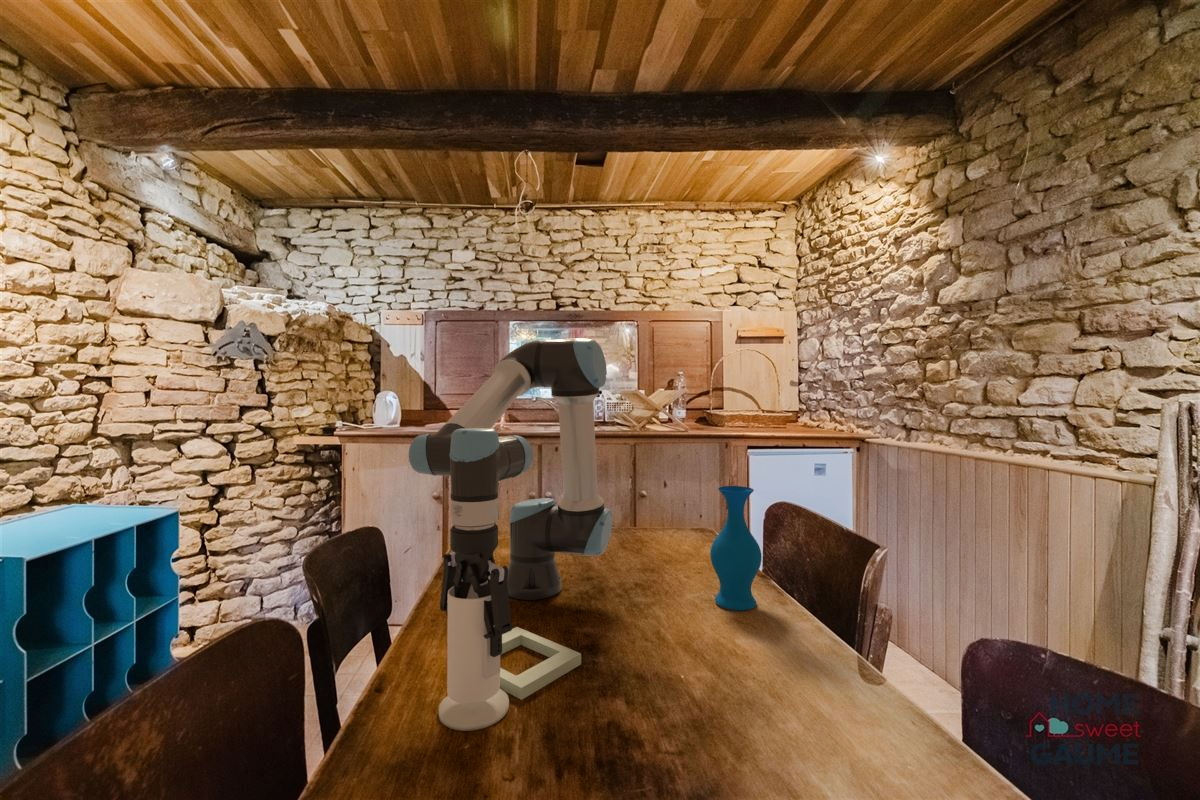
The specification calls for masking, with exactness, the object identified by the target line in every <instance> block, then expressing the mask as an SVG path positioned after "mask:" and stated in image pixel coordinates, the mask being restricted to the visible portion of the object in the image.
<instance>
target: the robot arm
mask: <svg viewBox="0 0 1200 800" xmlns="http://www.w3.org/2000/svg"><path fill="white" fill-rule="evenodd" d="M607 371H608V370H607V363H606V358H605V354H604V352H603V349H602V347H601V345H600V344H599V343H598V342H597V341H596V340H594V339H592V338H581V337H580V338H579V337H577V338H563V339H562V338H560V339H558V338H557V339H537V340H533V341H530V342H526V343H524V344H523V345H520V346H518V347H516V348H515V349H513V350H511V351H510V352H509V353H508V354H506V355H505V356H504V357H503V358H501V359H500V361H498V362H497V363H496V364H495V366H494V367H493V369H492V374H491V376H490V377H489V378H488V379H487V380H486V381H485V382H484V383H483V384H481V386H480V387H479V388H478V389H477V390H476V391H474V393H473V394H472V395H471V396H470V398H468V400H467V401H466V402H465V403H464V404H463V405H462V406H461V407H460V408H459V409H458V410H457V411H456V412H455V413H454V414H453V415H452V416H451V417H450V418H449V419H448V420H447V421H446V422H445V423H444V425H443V426H441V428H439V430H437V432H436V433H434V434H432V433H430V432H429V433H426V434H419V435H417V436H415V437H414V439H412V441H411V443H410V445H409V447H408V461H409V463H410V466H411V468H412V470H413V471H415V472H416V473H418V474H424V475H430V476H434V477H435V476H446V477H450V523H451V528H450V529H449V540H450V541H449V543H450V544H449V545H450V546H449V548H450V550H451V552H448V553H444V554H443V557H442V558H443V559H442V560H443V575H442V582H441V583H442V584H441V592H440V593H441V594H440V600H439V610H440V611H441V612H445V615H446V617H447V618H448V590H449V589H450V588H451V587H453V586H454V597H456V598H461V599H466V598H467V596H468V592H469V589H470V586H471V584H472V586H473V590H474V592H475V593H477V594H478V598H482V597H486V596H489V595H491V601H485V600H484V622H485V626H486V630H487V634H486V635H484V668H483V678H485V679H488V678H490V677H492V676H494V675H496V674H498V673H499V672H500V668H501V655H502V654H501V653H502V634H505V633H507V632H509V631H511V630H512V629H513V621H512V612H511V606H510V599H512V598H513V599H516V600H522V601H523V600H525V601H526V600H527V601H536V600H542V599H547V598H551V597H553V596H556V595H557V594H559V593H560V592H561V591H562V578H561V575H560V572H559V569H558V565H557V562H556V558H555V557H556V553H560V554H567V555H570V554H571V555H579V556H584V557H587V556H594V557H599V556H601V555H602V554H603V553H605V551H606V549H607V547H608V545H609V542H610V539H611V536H612V535H611V534H612V529H613V528H612V527H613V517H614V515H613V513H612V510H611V509H609V508H605V500H604V498H603V497H601V496H600V495H599V494H598V475H597V474H598V473H597V452H596V451H597V450H596V431H595V429H596V427H595V410H594V409H595V407H594V406H595V405H594V401H595V399H596V398H597V397H598V396H599V395H600V388H602V387H603V388H604V386H605V385H606V381H607V374H608V373H607ZM534 388H551V389H550V390H551V397H552V398H553V399H554V400H555V401H557V404H558V420H559V440H560V459H561V475H562V477H561V478H562V493H563V495H562V497H561V498H560V499H559V501H557V502H556V501H555V499H554V498H550V497H543V498H532V499H528V500H523V501H520V502H517V503H515V504H513V505H512V506H511V508H510V514H509V522H508V523H509V563H508V566H507V565H503V566H499V565H497V564H496V560H495V557H494V552H495V551H496V549H497V548H498V546H499V526H498V524H497V522H499V514H500V513H499V482H500V481H504V480H508V479H512V478H516V477H519V476H520V475H522V474H524V473H525V472H527V471H528V469H529V468H530V467H531V466H532V463H533V461H534V451H533V447H532V445H531V444H530V442H529V440H527V439H526V438H525V437H523V436H520V435H513V434H512V435H511V434H505V435H504V436H501V435H499V434H498V431H497V429H495V428H493V427H494V425H496V423H497V422H498V421H499V420H500V418H501V417H502V416H503V415H504V413H505V412H506V411H507V410H508V409H509V408H510V406H511V405H512V404H513V403H514V402H515V400H516V399H517V397H520V396H523V395H525V394H526V393H527V392H528V391H529V390H531V389H534ZM556 503H557V505H556ZM486 581H488V583H487V584H485V585H482V586H481V585H480V584H483V583H485V582H486ZM493 625H494V627H493ZM500 654H501V655H500Z"/></svg>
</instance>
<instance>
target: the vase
mask: <svg viewBox="0 0 1200 800" xmlns="http://www.w3.org/2000/svg"><path fill="white" fill-rule="evenodd" d="M717 490H718V491H719V492H720V494H722V496H723V497H724V500H725V503H726V506H727V517H726V520H725V523H724V526H723V528H722V529H721V531H720V532H719V533H718V534H717V536H716V537H715V538H714V540H713V542H712V544H711V547H710V552H709V556H710V560H711V565H712V567H713V570H714V571H715V574H716V575H717V578H718V580H719V587H720V588H719V590H718V591H719V592H718V593H717V595H716V596H715V597H714V602H715V603H716V604H717V605H718V606H720V607H721V608H724V609H726V610H730V611H737V612H738V611H739V612H742V611H743V612H744V611H749V610H752V609H754V608H755V607H756V606H757V604H758V603H757V601H756V598H755V597H754V596H753V593H752V585H753V582H754V579H755V578H756V576H757V574H758V572H759V570H760V568H761V565H762V558H763V557H762V551H761V548H760V545H759V543H758V542H757V539H755V537H754V536H753V534H752V533H751V531H750V529H749V528H748V525H747V523H746V520H745V506H746V502H747V500H748V498H749V497H750V496H751V494H752V493H753V492H755V491H754V489H753V488H752V487H749V486H748V487H747V486H742V485H741V486H740V485H725V486H720V487H718V488H717Z"/></svg>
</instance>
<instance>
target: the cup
mask: <svg viewBox="0 0 1200 800" xmlns="http://www.w3.org/2000/svg"><path fill="white" fill-rule="evenodd" d="M487 583H488V581H486V582H485V583H483V584H480V585H481V586H482V585H485V584H487ZM484 600H485V601H491V595H489V596H486V597H482V598H478V594H477V593H475V592H474V590H473V586H472V584H471V586H470V589H469V592H468V596H467V598H466V599H461V598H456V597H454V586H453V587H451V588H450V589H449V590H448V600H447V602H448V617H447V631H446V632H447V634H446V635H447V641H446V642H447V645H446V646H447V648H446V649H447V654H446V656H447V657H446V658H447V659H446V660H447V663H446V664H447V666H446V667H447V668H446V669H447V671H446V672H447V679H446V680H447V683H446V684H447V685H446V686H447V691H446V692H447V696H449V698H450V699H452V700H453V701H455V702H459V703H466V704H469V703H478V702H482V701H485V700H487V699H489V698H491V697H493V696H494V695H495V694H496V693H497V692H498V691H499V688H500V672H499V673H498V674H496V675H494V676H492V677H490V678H488V679H485V678H483V668H484V635H486V634H487V630H486V626H485V622H484ZM493 627H494V625H493Z"/></svg>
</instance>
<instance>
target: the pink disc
mask: <svg viewBox="0 0 1200 800" xmlns="http://www.w3.org/2000/svg"><path fill="white" fill-rule="evenodd" d="M509 698H510V697H509V695H508V694H507V692H506V691H504V690H502V689H500V688H499V691H498V692H497V693H496V694H495V695H494V696H493V697H491V698H489V699H487V700H485V701H482V702H478V703H469V704H466V703H459V702H455V701H453V700H452V699H450V698H449V696H448V695H447V696H446V697H444V698H443V699H442V700H441V702H440V703H439V706H438V720H439V721H440V722H441V723H442V725H443V726H445V727H447V728H449V729H451V730H455V731H463V732H468V731H478V730H483V729H485V728H488V727H491V726H493V725H494V724H496V723H498V722H499V721H501V719H503V718H504V717H505V716H506V715H507V714H508V711H509V709H510V699H509Z"/></svg>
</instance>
